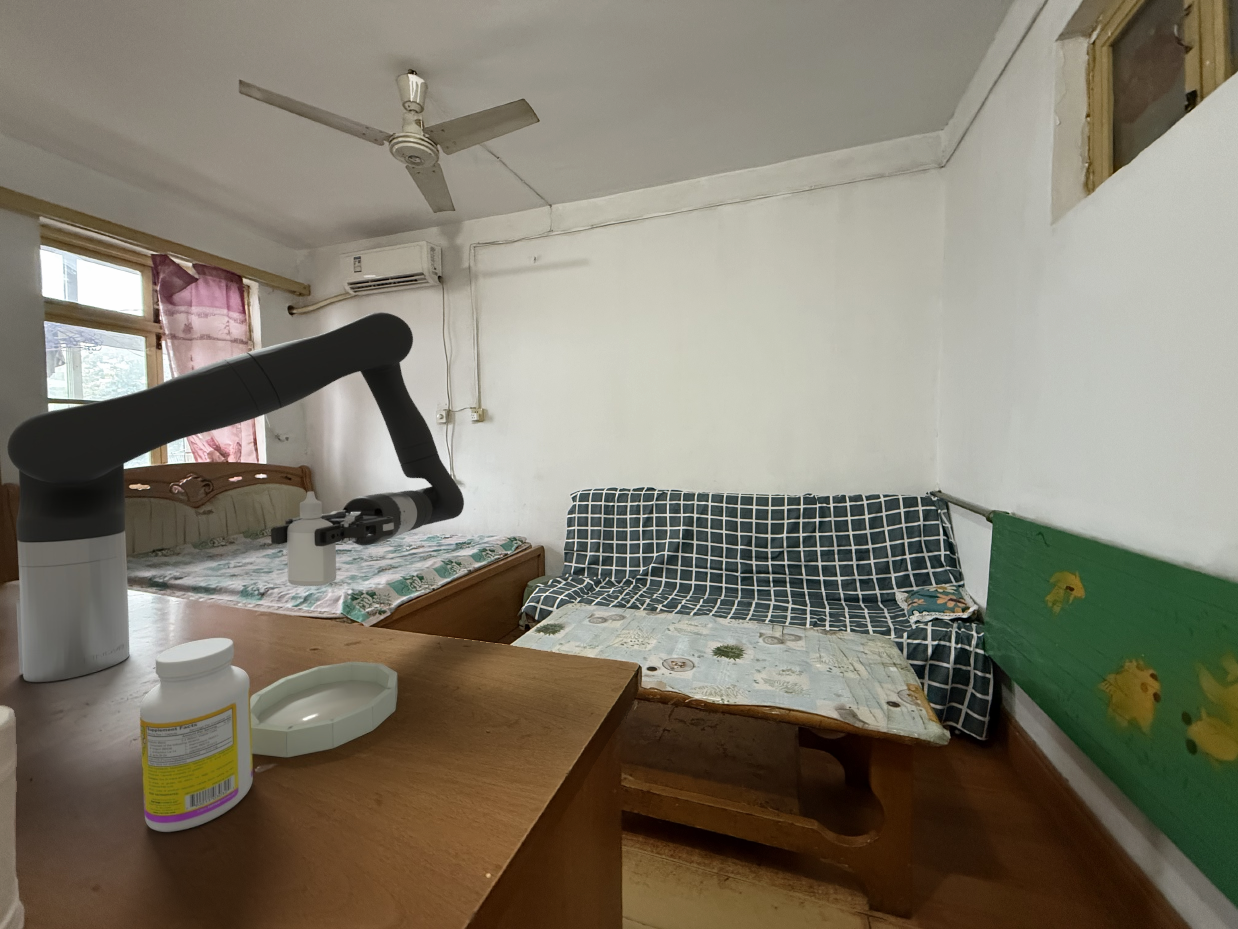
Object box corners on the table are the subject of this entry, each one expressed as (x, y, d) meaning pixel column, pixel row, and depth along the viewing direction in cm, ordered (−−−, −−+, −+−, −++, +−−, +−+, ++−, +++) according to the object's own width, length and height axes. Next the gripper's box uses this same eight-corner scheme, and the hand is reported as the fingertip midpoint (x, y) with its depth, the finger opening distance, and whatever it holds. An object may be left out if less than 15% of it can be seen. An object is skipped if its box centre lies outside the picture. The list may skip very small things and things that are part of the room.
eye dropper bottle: (302, 591, 59) (300, 494, 59) (284, 582, 63) (282, 491, 62) (340, 582, 63) (338, 491, 62) (321, 575, 66) (319, 489, 66)
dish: (205, 748, 46) (204, 722, 46) (317, 678, 60) (316, 658, 60) (336, 763, 44) (336, 736, 44) (421, 687, 58) (420, 666, 58)
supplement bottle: (191, 777, 42) (186, 633, 41) (270, 773, 42) (267, 631, 42) (117, 840, 35) (111, 669, 35) (213, 834, 36) (208, 666, 35)
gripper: (340, 492, 77) (244, 505, 61) (422, 494, 75) (346, 509, 59) (340, 538, 78) (245, 564, 61) (423, 541, 76) (347, 569, 59)
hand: (295, 537), depth 60 cm, fingers closed on eye dropper bottle, 5 cm apart
